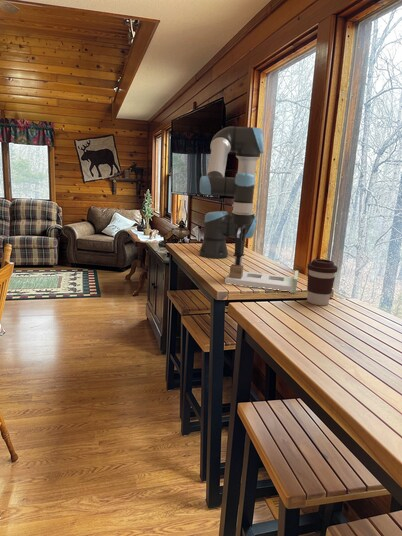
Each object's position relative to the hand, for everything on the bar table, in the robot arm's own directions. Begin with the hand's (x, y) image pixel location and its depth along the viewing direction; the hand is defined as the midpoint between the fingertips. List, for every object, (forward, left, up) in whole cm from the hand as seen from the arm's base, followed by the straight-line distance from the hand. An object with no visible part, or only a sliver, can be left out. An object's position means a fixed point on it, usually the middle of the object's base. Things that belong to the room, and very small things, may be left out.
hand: (237, 271), depth 156 cm
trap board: (0, +9, -4) cm, 10 cm away
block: (+3, 0, -1) cm, 3 cm away
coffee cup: (+15, +31, -4) cm, 35 cm away
